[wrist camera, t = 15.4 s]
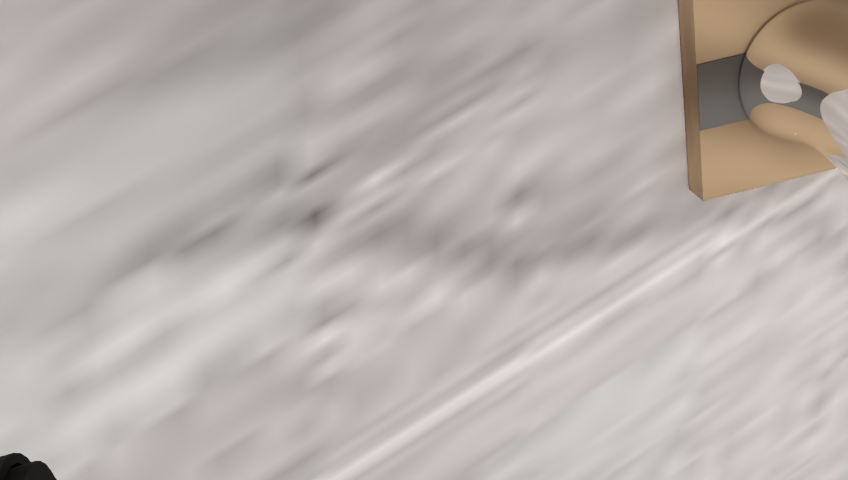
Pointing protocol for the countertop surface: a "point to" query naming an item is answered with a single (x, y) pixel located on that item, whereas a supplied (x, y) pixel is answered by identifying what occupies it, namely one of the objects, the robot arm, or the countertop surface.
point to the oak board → (731, 102)
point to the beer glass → (801, 78)
